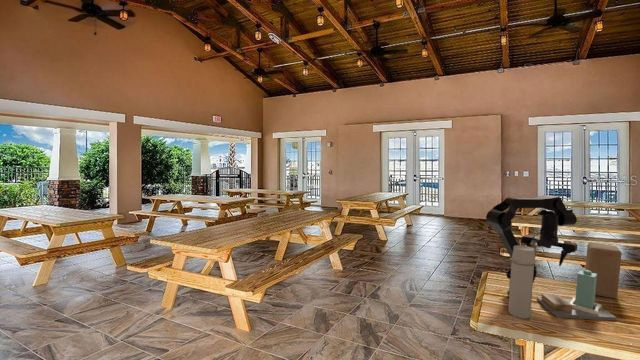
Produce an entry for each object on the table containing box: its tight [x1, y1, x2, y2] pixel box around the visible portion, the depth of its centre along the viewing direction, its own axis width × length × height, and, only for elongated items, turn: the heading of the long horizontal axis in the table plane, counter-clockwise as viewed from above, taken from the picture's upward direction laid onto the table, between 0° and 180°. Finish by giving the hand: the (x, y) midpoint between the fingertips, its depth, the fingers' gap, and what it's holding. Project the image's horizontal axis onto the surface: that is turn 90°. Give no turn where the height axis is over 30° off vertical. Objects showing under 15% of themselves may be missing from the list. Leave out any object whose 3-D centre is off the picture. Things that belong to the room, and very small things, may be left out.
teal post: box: [575, 269, 597, 310], centre depth 128 cm, size 5×5×14 cm
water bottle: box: [507, 244, 537, 320], centre depth 125 cm, size 9×8×25 cm
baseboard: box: [536, 296, 617, 322], centre depth 129 cm, size 20×14×2 cm
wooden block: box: [584, 242, 623, 299], centre depth 144 cm, size 10×10×20 cm
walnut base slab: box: [541, 293, 572, 312], centre depth 130 cm, size 6×9×2 cm, turn 174°
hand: (546, 263), depth 142 cm, fingers open, 9 cm apart
